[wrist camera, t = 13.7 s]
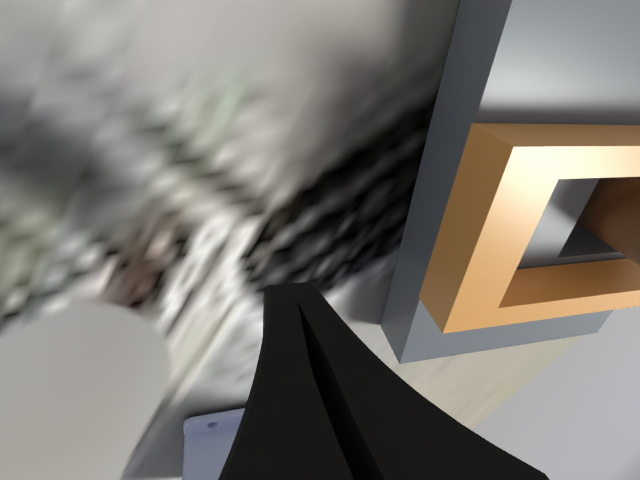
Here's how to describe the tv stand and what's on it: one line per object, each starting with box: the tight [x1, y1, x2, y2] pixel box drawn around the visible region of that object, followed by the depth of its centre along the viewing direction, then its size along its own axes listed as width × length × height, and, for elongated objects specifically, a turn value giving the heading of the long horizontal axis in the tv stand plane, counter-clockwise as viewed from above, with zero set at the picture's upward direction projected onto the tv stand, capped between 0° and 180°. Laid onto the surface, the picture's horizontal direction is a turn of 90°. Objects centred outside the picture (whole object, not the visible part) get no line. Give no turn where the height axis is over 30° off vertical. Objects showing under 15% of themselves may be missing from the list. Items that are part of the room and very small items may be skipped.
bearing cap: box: [419, 123, 640, 334], centre depth 14 cm, size 11×7×2 cm, turn 85°
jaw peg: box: [576, 177, 640, 266], centre depth 16 cm, size 3×3×6 cm
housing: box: [381, 0, 640, 364], centre depth 16 cm, size 12×16×2 cm
